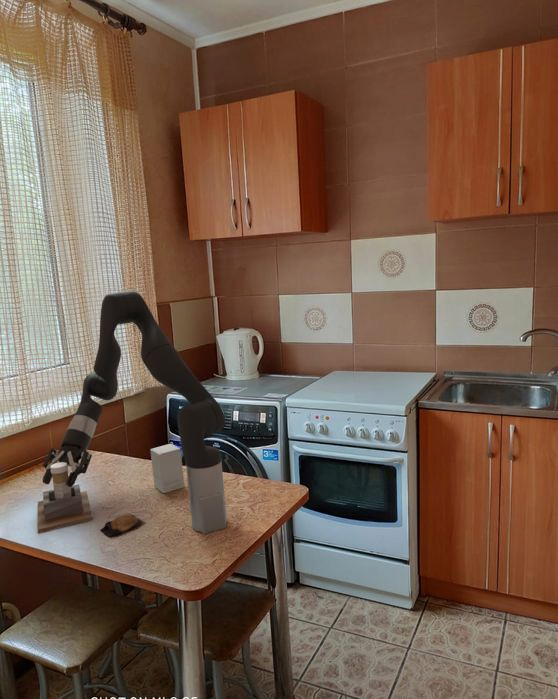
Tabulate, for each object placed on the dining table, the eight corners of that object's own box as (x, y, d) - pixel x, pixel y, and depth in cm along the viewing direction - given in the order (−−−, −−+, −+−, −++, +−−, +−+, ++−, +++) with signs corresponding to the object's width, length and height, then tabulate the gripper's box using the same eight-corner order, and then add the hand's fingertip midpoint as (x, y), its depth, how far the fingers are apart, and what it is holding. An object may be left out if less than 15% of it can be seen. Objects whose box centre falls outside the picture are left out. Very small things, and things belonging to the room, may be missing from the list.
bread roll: (132, 517, 155) (130, 505, 154) (148, 525, 149) (147, 513, 148) (97, 532, 147) (95, 519, 147) (112, 541, 141) (111, 528, 141)
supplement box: (185, 487, 172) (181, 448, 169) (162, 494, 167) (158, 454, 165) (175, 480, 178) (171, 442, 176) (153, 486, 174) (149, 448, 172)
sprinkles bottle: (70, 503, 163) (64, 460, 161) (75, 508, 159) (69, 464, 157) (54, 508, 160) (48, 464, 158) (59, 513, 157) (53, 468, 154)
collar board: (92, 519, 153) (90, 501, 152) (38, 532, 148) (35, 513, 147) (86, 494, 172) (84, 477, 171) (38, 504, 166) (35, 487, 165)
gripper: (53, 426, 165) (29, 477, 157) (91, 428, 160) (68, 481, 152) (68, 437, 171) (45, 487, 163) (105, 440, 166) (84, 491, 157)
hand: (56, 484), depth 157 cm, fingers open, 8 cm apart
